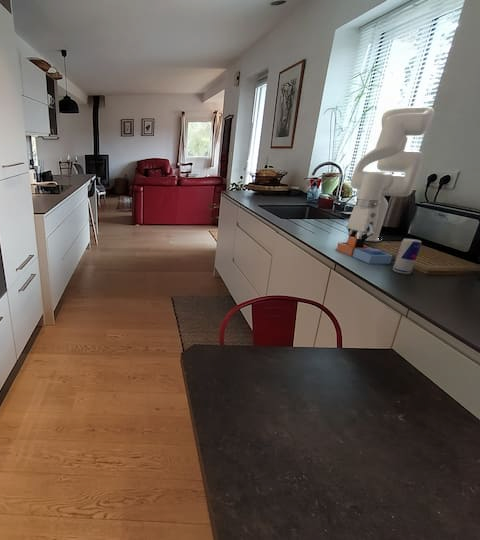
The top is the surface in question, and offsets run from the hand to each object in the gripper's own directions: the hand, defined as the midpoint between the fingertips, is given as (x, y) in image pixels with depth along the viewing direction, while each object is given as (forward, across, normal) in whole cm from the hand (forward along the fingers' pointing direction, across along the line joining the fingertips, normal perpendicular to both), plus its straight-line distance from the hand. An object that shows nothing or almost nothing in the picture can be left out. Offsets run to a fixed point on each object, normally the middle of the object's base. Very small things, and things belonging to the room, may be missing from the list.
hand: (354, 246), depth 140 cm
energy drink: (+3, -23, -1) cm, 24 cm away
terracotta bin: (+3, 0, 0) cm, 3 cm away
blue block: (+3, -10, 0) cm, 10 cm away
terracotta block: (0, 0, 0) cm, 0 cm away
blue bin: (+3, -10, 0) cm, 10 cm away
